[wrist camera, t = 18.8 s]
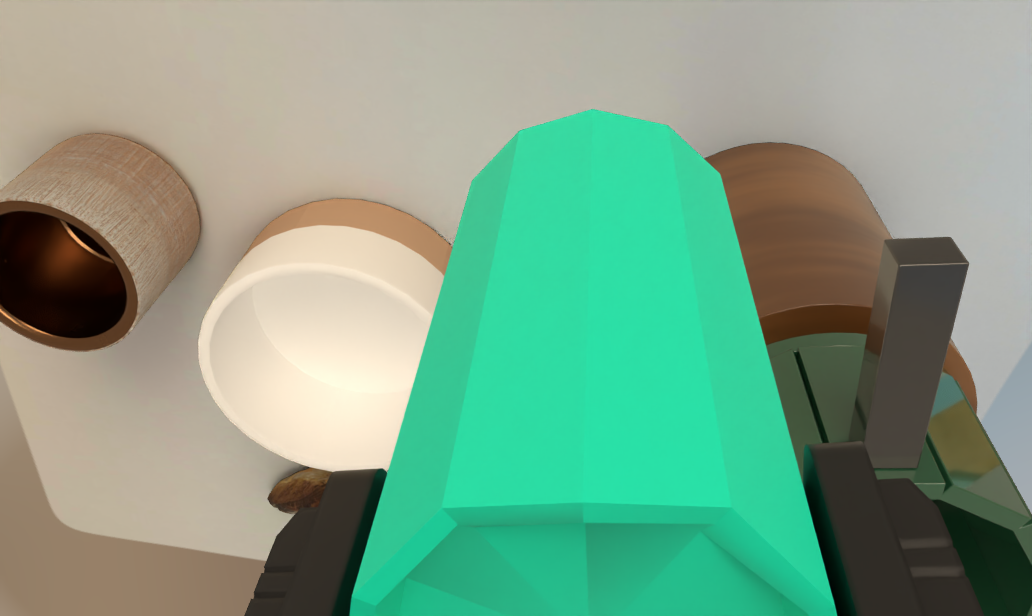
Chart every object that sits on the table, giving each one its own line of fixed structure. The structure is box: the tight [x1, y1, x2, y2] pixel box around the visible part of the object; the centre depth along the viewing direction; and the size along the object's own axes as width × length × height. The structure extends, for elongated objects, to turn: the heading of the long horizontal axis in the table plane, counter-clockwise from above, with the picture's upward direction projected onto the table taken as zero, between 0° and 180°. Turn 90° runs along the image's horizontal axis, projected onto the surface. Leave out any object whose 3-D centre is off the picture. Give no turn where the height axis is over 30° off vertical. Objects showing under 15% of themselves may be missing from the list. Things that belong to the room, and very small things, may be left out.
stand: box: [705, 143, 977, 413], centre depth 48 cm, size 15×15×18 cm
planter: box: [0, 134, 200, 352], centre depth 53 cm, size 11×11×10 cm
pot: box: [766, 237, 1032, 616], centre depth 34 cm, size 22×14×9 cm, turn 5°
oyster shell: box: [268, 468, 332, 514], centre depth 69 cm, size 6×4×10 cm
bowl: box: [198, 199, 452, 472], centre depth 57 cm, size 17×17×8 cm
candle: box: [350, 109, 837, 616], centre depth 14 cm, size 6×6×12 cm
